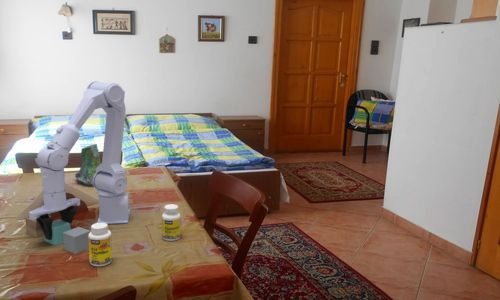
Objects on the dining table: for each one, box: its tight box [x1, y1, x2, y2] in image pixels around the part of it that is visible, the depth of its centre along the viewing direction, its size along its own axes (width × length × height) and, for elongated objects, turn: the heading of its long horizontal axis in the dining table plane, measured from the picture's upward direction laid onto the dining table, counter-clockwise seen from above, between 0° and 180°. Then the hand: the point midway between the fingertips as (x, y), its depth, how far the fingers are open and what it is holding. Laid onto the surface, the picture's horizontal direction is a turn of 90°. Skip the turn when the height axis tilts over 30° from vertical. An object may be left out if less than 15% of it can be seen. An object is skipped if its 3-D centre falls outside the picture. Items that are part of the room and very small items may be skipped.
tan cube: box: [24, 215, 52, 238], centre depth 125 cm, size 5×5×5 cm
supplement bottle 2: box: [161, 203, 182, 242], centre depth 124 cm, size 5×5×10 cm
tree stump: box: [74, 143, 102, 188], centre depth 175 cm, size 18×20×18 cm
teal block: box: [43, 219, 71, 246], centre depth 121 cm, size 5×5×5 cm
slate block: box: [63, 226, 91, 255], centre depth 116 cm, size 5×5×5 cm
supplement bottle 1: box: [88, 222, 113, 267], centre depth 108 cm, size 6×6×10 cm
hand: (57, 235), depth 121 cm, fingers closed on teal block, 5 cm apart
